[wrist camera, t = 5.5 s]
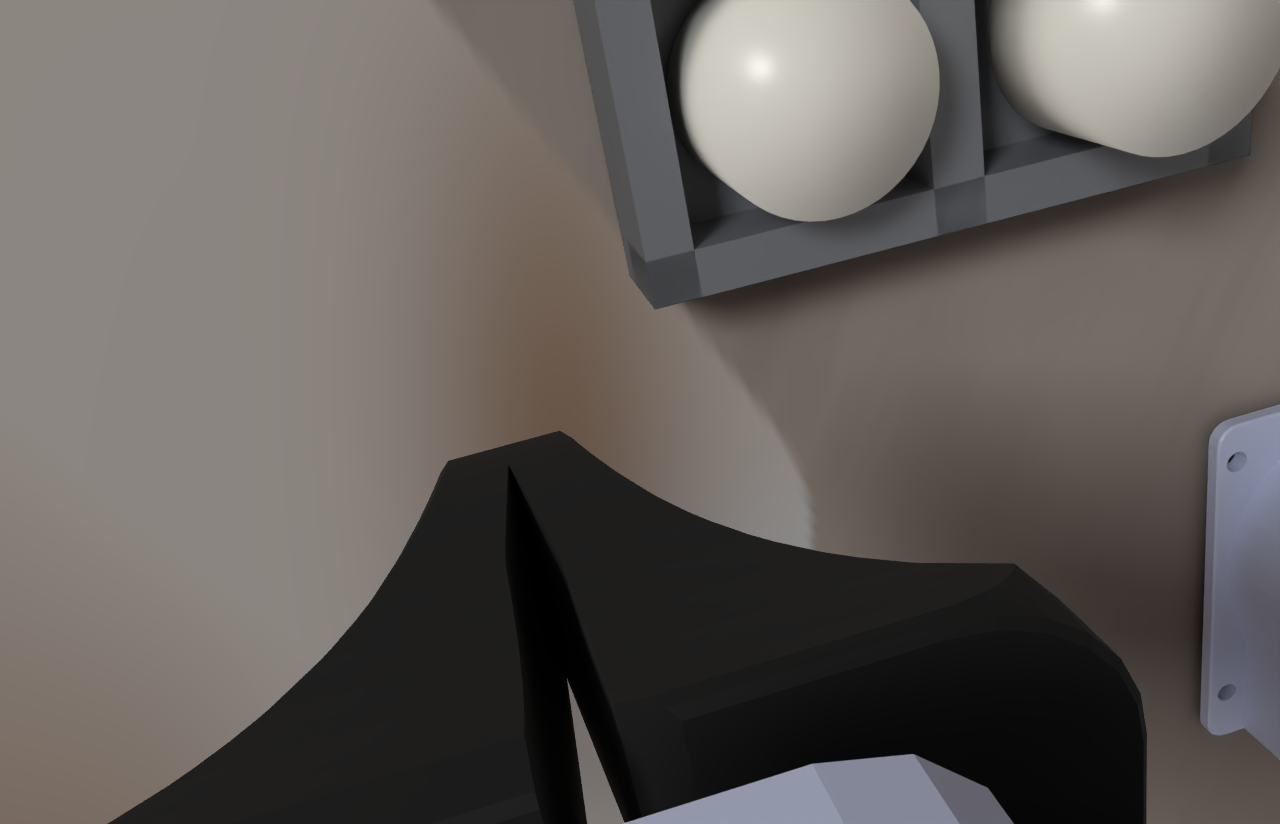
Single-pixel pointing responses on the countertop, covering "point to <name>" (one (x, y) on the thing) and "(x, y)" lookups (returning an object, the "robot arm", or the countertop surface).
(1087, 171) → the tray
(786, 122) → the cream round ball
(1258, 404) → the countertop surface
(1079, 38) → the cream rounded dome
